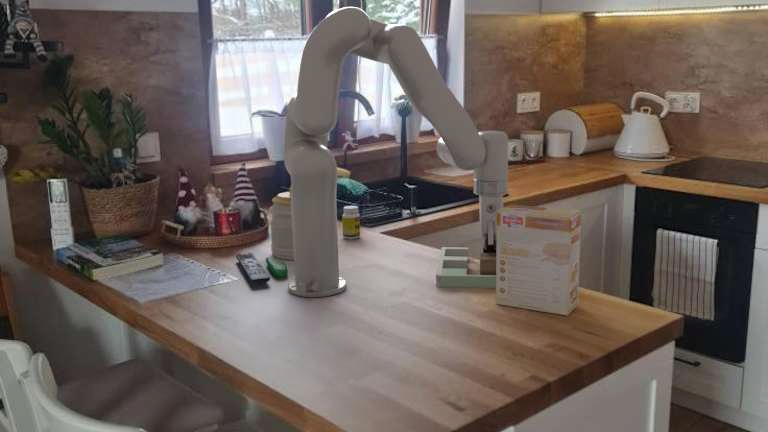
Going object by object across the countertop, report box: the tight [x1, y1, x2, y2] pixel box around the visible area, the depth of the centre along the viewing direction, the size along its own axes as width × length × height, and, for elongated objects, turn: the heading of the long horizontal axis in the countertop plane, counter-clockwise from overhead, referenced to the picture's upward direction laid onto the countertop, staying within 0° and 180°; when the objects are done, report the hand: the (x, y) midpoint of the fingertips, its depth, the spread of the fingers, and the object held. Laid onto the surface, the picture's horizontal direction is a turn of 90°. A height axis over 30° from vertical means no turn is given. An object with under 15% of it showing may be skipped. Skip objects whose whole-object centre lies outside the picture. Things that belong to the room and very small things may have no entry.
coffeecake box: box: [495, 204, 582, 317], centre depth 149 cm, size 15×7×20 cm, turn 59°
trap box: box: [435, 246, 496, 289], centre depth 174 cm, size 23×18×2 cm
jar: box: [268, 186, 294, 261], centre depth 190 cm, size 13×13×18 cm
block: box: [479, 252, 496, 275], centre depth 169 cm, size 5×5×5 cm
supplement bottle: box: [341, 205, 361, 240], centre depth 206 cm, size 5×5×8 cm
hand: (490, 265), depth 174 cm, fingers closed
